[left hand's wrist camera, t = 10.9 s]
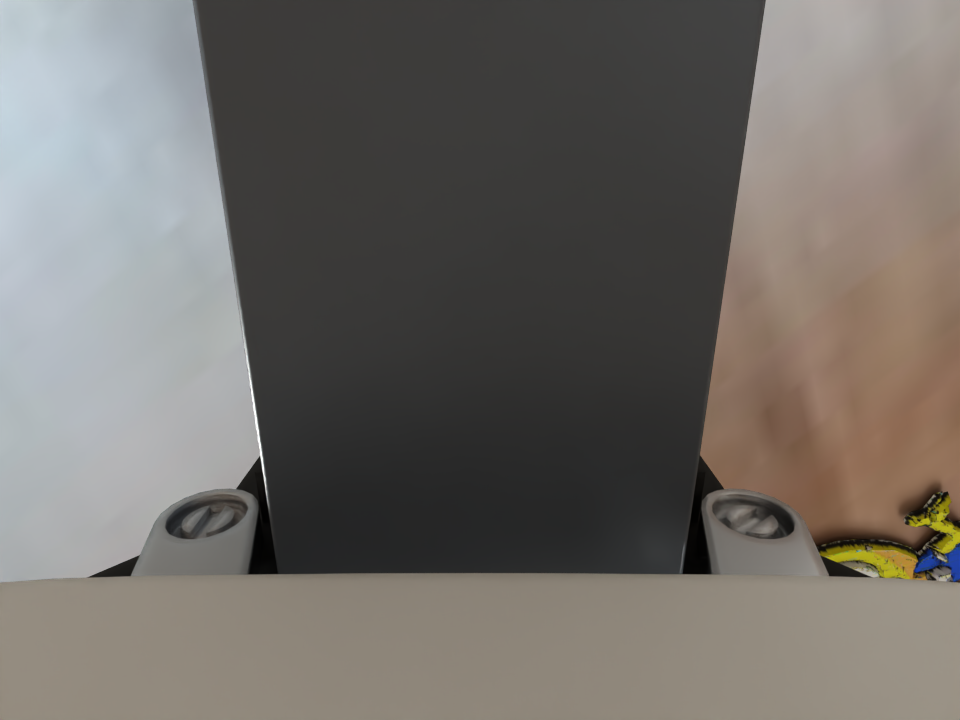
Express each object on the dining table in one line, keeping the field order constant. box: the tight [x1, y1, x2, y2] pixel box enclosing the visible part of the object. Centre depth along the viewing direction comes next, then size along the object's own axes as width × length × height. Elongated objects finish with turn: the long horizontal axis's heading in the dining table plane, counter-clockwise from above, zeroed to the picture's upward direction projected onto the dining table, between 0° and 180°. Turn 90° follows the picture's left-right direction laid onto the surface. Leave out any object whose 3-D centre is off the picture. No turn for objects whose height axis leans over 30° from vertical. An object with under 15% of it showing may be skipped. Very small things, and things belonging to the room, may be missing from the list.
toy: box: [817, 491, 960, 582], centre depth 30 cm, size 10×1×15 cm
